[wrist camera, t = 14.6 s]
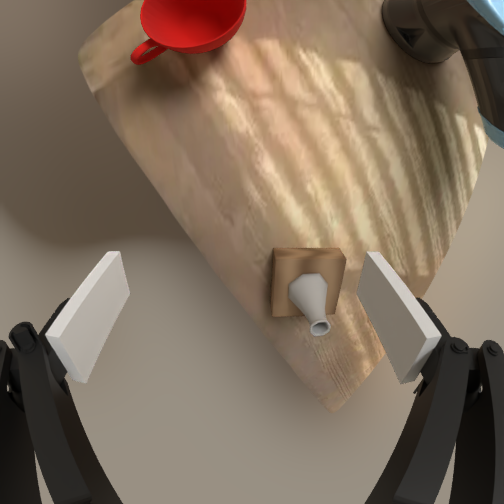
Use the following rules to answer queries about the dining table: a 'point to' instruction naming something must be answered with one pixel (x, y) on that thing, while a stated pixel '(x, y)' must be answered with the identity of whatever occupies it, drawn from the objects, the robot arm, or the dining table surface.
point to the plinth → (305, 262)
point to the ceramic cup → (187, 26)
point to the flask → (311, 301)
